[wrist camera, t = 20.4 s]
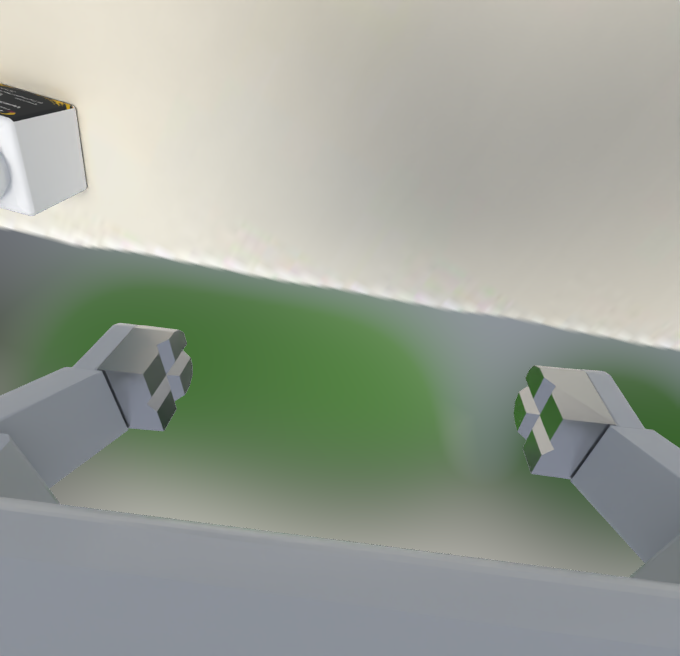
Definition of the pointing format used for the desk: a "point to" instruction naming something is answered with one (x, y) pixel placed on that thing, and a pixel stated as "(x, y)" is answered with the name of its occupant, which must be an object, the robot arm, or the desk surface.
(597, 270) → the desk surface
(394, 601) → the robot arm
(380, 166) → the desk surface
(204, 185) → the desk surface
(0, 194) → the medicine bottle
